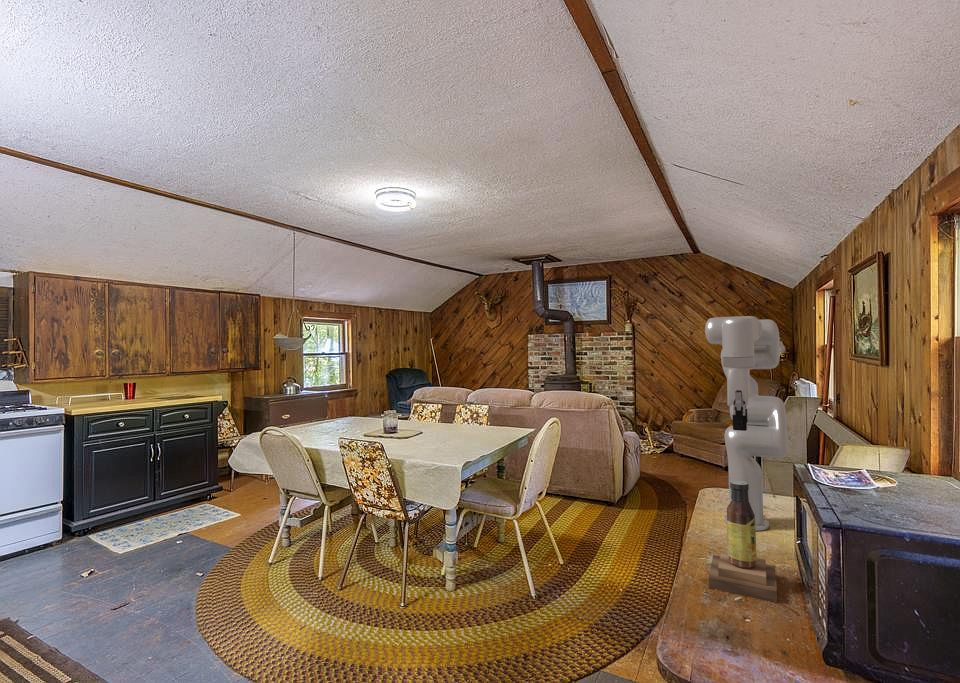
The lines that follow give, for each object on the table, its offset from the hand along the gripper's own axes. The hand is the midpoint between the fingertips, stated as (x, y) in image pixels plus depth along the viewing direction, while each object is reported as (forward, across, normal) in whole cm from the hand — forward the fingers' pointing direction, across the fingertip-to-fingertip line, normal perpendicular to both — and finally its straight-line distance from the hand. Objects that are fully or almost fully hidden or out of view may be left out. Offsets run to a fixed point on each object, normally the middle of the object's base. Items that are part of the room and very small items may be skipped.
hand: (740, 426), depth 130 cm
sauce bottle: (+31, +15, 0) cm, 34 cm away
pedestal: (+35, +15, 0) cm, 38 cm away
